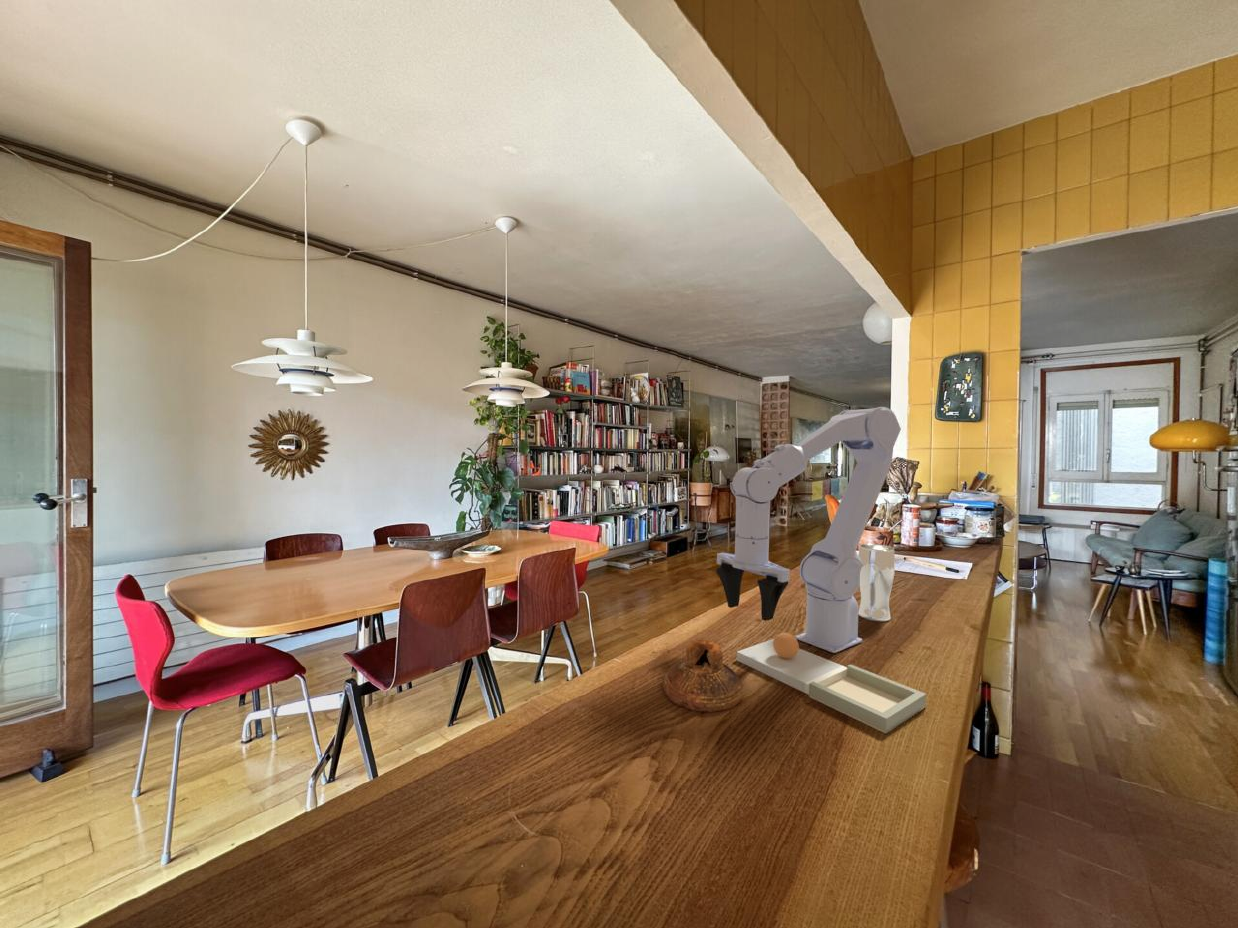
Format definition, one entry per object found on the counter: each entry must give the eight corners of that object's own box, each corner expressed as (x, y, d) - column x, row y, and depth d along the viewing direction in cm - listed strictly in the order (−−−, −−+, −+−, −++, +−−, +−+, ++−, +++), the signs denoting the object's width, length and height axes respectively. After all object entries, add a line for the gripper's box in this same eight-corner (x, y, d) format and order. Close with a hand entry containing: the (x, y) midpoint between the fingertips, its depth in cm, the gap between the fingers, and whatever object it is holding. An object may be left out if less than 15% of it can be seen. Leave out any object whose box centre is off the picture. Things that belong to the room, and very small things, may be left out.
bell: (758, 692, 73) (759, 644, 73) (712, 724, 65) (713, 670, 64) (694, 666, 81) (695, 623, 81) (645, 692, 73) (646, 643, 73)
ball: (782, 650, 84) (783, 627, 84) (803, 658, 81) (804, 634, 81) (767, 655, 82) (768, 632, 82) (788, 664, 78) (789, 640, 78)
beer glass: (899, 622, 102) (902, 550, 101) (865, 622, 102) (868, 550, 101) (882, 611, 109) (884, 543, 108) (850, 610, 109) (852, 543, 108)
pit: (850, 676, 78) (850, 664, 78) (925, 707, 69) (926, 693, 69) (808, 696, 72) (809, 683, 72) (885, 733, 63) (886, 718, 63)
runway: (774, 646, 89) (774, 638, 89) (848, 677, 78) (848, 668, 78) (736, 660, 83) (736, 651, 83) (810, 695, 72) (811, 685, 72)
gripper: (705, 531, 90) (704, 605, 91) (771, 546, 78) (769, 630, 79) (732, 528, 94) (730, 598, 95) (798, 541, 82) (796, 621, 83)
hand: (749, 612), depth 87 cm, fingers open, 7 cm apart
